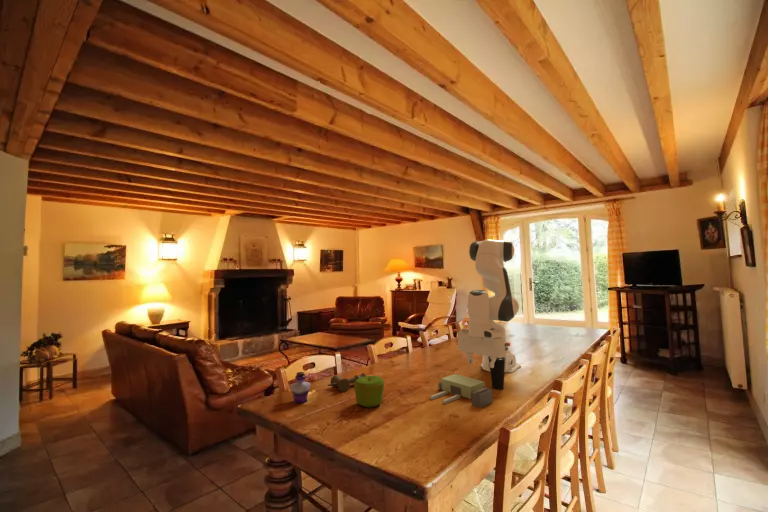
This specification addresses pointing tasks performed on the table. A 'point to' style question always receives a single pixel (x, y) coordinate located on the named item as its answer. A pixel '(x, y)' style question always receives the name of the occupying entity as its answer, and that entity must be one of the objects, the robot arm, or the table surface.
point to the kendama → (343, 382)
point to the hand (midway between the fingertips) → (480, 365)
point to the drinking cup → (497, 373)
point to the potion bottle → (300, 388)
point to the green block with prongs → (458, 387)
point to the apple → (369, 390)
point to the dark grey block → (482, 397)
